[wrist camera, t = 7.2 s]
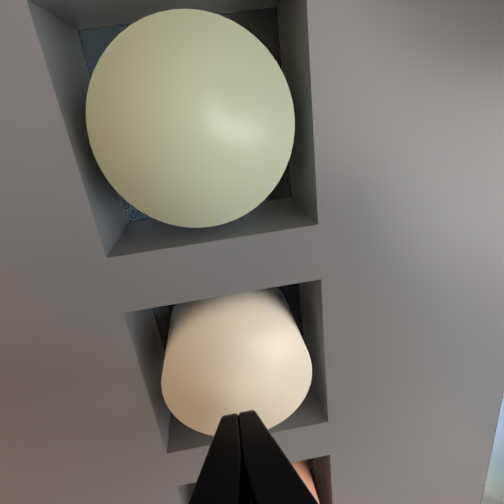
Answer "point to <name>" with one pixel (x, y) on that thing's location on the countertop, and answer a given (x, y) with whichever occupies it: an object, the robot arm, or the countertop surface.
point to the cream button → (234, 360)
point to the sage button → (190, 118)
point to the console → (264, 259)
